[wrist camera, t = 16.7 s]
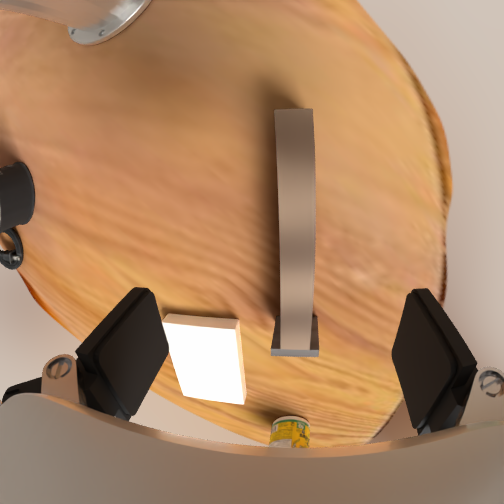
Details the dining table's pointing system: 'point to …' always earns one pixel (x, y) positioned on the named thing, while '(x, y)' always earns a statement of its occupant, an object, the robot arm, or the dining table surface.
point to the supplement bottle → (290, 433)
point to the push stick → (296, 234)
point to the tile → (207, 356)
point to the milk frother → (15, 208)
